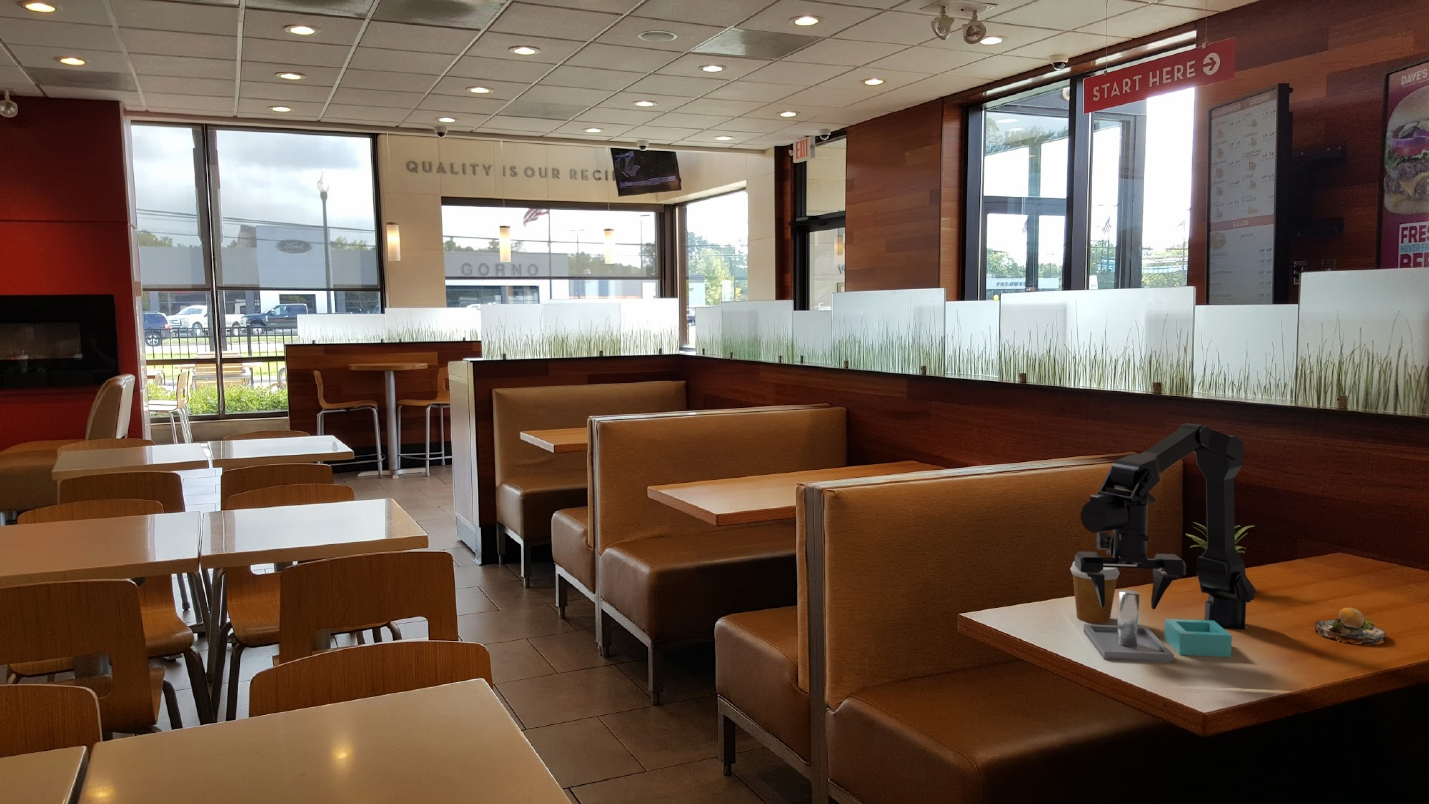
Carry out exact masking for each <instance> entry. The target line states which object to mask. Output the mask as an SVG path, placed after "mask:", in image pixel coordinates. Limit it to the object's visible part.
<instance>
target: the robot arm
mask: <svg viewBox="0 0 1429 804" xmlns="http://www.w3.org/2000/svg"><path fill="white" fill-rule="evenodd" d="M1191 453H1195V459H1196V465H1197V467H1198V468H1199V469H1200V472H1201V473H1202V474H1203V476H1204V477H1205V485H1206V487H1205V489H1206V490H1205V491H1206V493H1205V494H1206V495H1205V497H1206V528H1207V530H1206V531H1207V532H1206V536H1207V537H1206V538H1207V539H1206V540H1207V541H1206V542H1207V549H1206V550H1204V552H1203V553H1202V554H1201V555H1199V556H1197V557H1196V559H1195V562H1196V573H1195V575H1196V576H1197V579H1198V583H1199V587H1200V588H1199V589H1200V592H1201V593H1203V594H1207V600H1206V601H1205V603H1204V619H1203V620H1211V621H1215V622H1216V623H1217V624H1219V625H1220V626H1221V627H1222V628H1223V629H1225V630H1249V627H1248V626H1246V614H1247V613H1246V611H1247V604H1248V603H1251V602H1252V601H1254V599H1255V596H1256V592H1257V591H1256V587H1254V585H1253V583H1252V582H1251V581H1250V579H1249V578H1248V576H1247V574H1246V567H1245V562H1244V560H1243V558H1242V557H1241V555H1240V553H1238V552H1237V550H1238V549H1237V550H1236V549H1235V546H1236V544H1235V542H1236V540H1235V534H1236V530H1235V529H1236V528H1235V527H1236V523H1235V520H1236V518H1235V515H1236V514H1235V477H1236V476H1237V475H1238V473H1239V471H1241V468H1242V467H1243V464H1244V456H1245V455H1244V454H1245V445H1244V442H1243V441H1242V440H1241V439H1240V438H1239V437H1238V436H1236V435H1227V434H1225V433H1222V432H1219V431H1217V430H1214V429H1212V428H1211V427H1209V426H1206V425H1204V424H1195V423H1186V422H1185V423H1183V424H1181V425H1180V426H1179V427H1178V429H1177V430H1175V431H1174V432H1172V433H1171V434H1169V435H1168V436H1166V437H1165V438H1163V439H1161V440H1160V441H1159V442H1157V443H1156V444H1154V445H1153V446H1151V447H1150V448H1148V449H1147V450H1145V451H1143V452H1140V453H1135V454H1130V455H1126V456H1124V457H1121V458H1119V459H1116V460H1115V461H1114V462H1113V463H1112V464H1111V465H1110V469H1109V471H1108V472H1107V474H1106V477H1105V479H1104V480H1103V482H1102V484H1101V486H1100V488H1099V490H1098V492H1097V494H1091V495H1090V497H1089V501H1088V502H1086V503H1085V504H1083V506H1082V507H1081V508H1082V509H1081V511H1080V520H1081V523H1082V526H1083V527H1084V528H1085V529H1086V530H1087V531H1089V532H1090V533H1096V549H1097V550H1106V555H1107V556H1110V557H1106V556H1104V557H1103V556H1102V555H1100V554H1099V553H1098V552H1097V551H1077V553H1076V554H1075V555H1074V561H1075V566H1076V567H1077V568H1078V569H1079V570H1080V571H1081V572H1084V573H1085V574H1086V575H1087V576H1088V577H1091V579H1092V581H1093V583H1094V586H1095V589H1096V592H1097V596H1098V599H1099V602H1100V605H1101V607H1103V608H1104V605H1105V575H1104V574H1103V573H1102V572H1101V571H1102V570H1103V567H1110V568H1118V569H1120V568H1121V569H1144V570H1145V569H1148V570H1151V569H1152V577H1153V583H1152V591H1151V598H1150V601H1151V602H1150V603H1151V605H1150V606H1151V609H1152V610H1156V609H1157V606H1158V605H1159V604H1160V601H1161V600H1162V598H1163V596H1164V593H1165V592H1166V590H1167V589H1168V587H1169V586H1170V585H1171V584H1172V582H1173V581H1177V580H1179V576H1181V577H1183V576H1186V573H1187V564H1186V562H1185V560H1183V559H1182V558H1180V557H1179V556H1178V555H1177V554H1175V553H1156V554H1155V555H1154V558H1148V556H1147V542H1148V541H1149V535H1148V534H1147V533H1148V510H1149V508H1148V507H1149V504H1150V503H1155V502H1156V501H1157V499H1156V498H1155V497H1154V496H1153V495H1152V493H1150V491H1152V489H1153V488H1154V487H1156V486H1157V485H1158V483H1160V482H1161V479H1162V478H1161V477H1162V474H1163V473H1164V472H1165V471H1166V470H1167V469H1169V468H1170V467H1172V466H1174V465H1175V464H1176V463H1178V462H1180V460H1183V458H1185V457H1186V456H1188V455H1189V454H1191ZM1109 531H1112V532H1111V533H1112V534H1111V536H1109V535H1110V534H1109ZM1111 556H1112V557H1111Z"/></svg>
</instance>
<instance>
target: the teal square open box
mask: <svg viewBox="0 0 1429 804" xmlns="http://www.w3.org/2000/svg"><path fill="white" fill-rule="evenodd" d="M1163 632H1164V635H1163V639H1164V641H1166V643H1167V644H1168V645H1170V647H1171V648H1172V649H1173V650H1174V652H1176V653H1177V654H1178V655H1179V656H1194V657H1195V656H1198V657H1220V658H1222V657H1223V658H1232V643H1233V635H1232V634H1231V633H1230V632H1228V631H1227V629H1223V628H1222V627H1221V626H1220V625H1219V624H1217V623H1216V622H1215V621H1211V620H1205V619H1184V618H1183V619H1181V618H1180V619H1179V618H1177V619H1176V618H1164V631H1163Z"/></svg>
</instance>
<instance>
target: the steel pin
mask: <svg viewBox="0 0 1429 804" xmlns="http://www.w3.org/2000/svg"><path fill="white" fill-rule="evenodd" d="M1117 603H1118V604H1117V620H1116V621H1117V622H1116V624H1117V625H1116V626H1117V642H1116V643H1117V644H1118V645H1121V646H1125V647H1135V646H1137V634H1138V626H1139V611H1140V610H1139V609H1140V605H1139V604H1140V592H1138V591H1136V590H1130V589H1121V590H1118V601H1117Z"/></svg>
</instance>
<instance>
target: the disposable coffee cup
mask: <svg viewBox="0 0 1429 804" xmlns="http://www.w3.org/2000/svg"><path fill="white" fill-rule="evenodd" d="M1070 571H1071V574H1072V579H1073V582H1072V583H1073V589H1074V591H1073V592H1074V600H1075V601H1074V602H1075V611H1076V618H1077V619H1078V620H1079V621H1081V622H1084V623H1088V624H1095V625H1103V624H1107V623H1109V622H1110V621H1111V617H1112V616H1111V614H1112V609H1113V602H1114V597H1115V591H1116V588H1117V587H1116V586H1117V582H1118V581H1117V580H1118V578H1119V575H1120V571H1119V568H1110V567H1103V570H1102V571H1101V572H1102V573H1103V574H1104V575H1105V605H1104V608H1103V607H1101V605H1100V602H1099V599H1098V596H1097V592H1096V589H1095V586H1094V583H1093V581H1092V579H1091V577H1088V576H1087V575H1086V574H1085V573H1084V572H1081V571H1080V570H1079V569H1078V568H1077V567H1076V566H1075V560H1074V561H1073V562H1072V564H1071V567H1070Z"/></svg>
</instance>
